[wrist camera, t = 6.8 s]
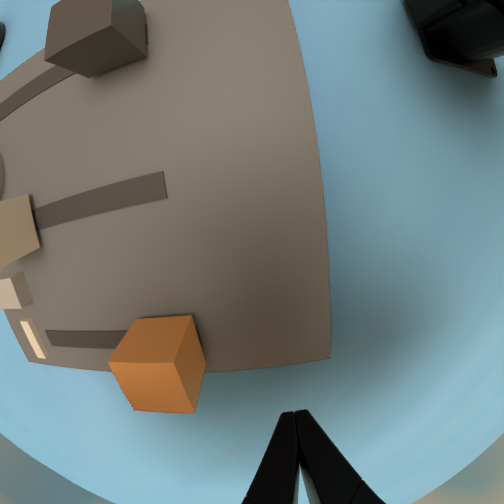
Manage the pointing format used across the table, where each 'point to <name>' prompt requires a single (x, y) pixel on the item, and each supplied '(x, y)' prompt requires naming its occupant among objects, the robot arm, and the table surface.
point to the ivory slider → (16, 229)
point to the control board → (171, 193)
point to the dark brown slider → (95, 35)
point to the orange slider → (160, 365)
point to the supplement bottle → (1, 33)
